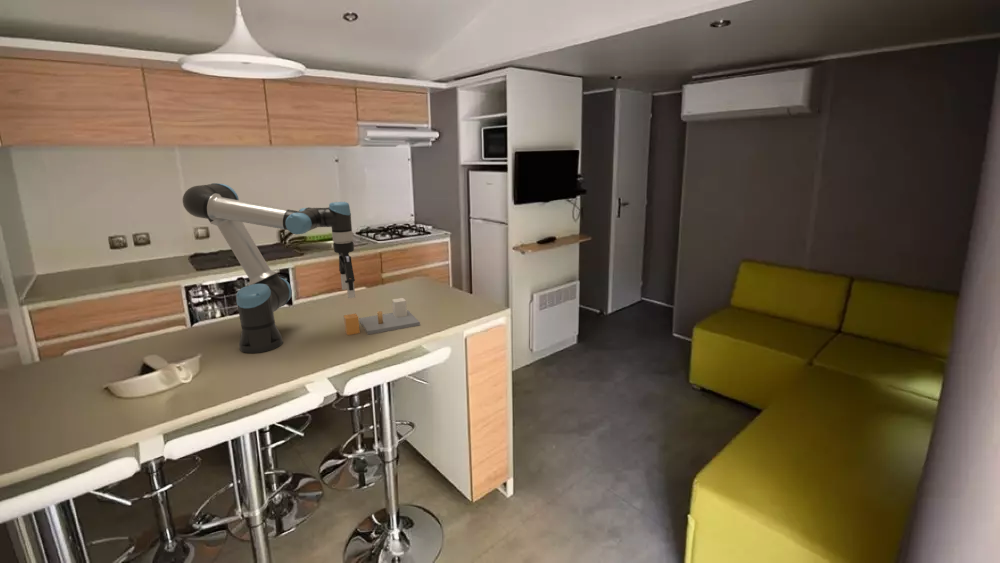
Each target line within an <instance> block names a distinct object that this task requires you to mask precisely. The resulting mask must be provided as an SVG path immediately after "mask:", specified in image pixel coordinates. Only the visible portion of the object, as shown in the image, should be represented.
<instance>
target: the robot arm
mask: <svg viewBox="0 0 1000 563" xmlns="http://www.w3.org/2000/svg"><path fill="white" fill-rule="evenodd" d="M182 204H183V208H184V210H185V211H186V212H187V213H188V214H190V215H191V216H194V217H196V218H201V219H207V220H208V221H209V223H210V224H211V225H213V226H216V227H217V228H218V230H219V231H220V233H221V235H222V236H223V238H224V240H225V241H226V244H228V246H229V248H230V249H231V251H232V253H233V254H234V256H235V258H236V260H238V263H239V264H240V266H241V268H242V269H243V271H244V272H245V275H246V276H247V277H248V279H249V283H248V285H246V286H243V287H241V288H239V290H237V292H236V296H235V297H236V305H237V310H238V315H239V320H240V322H239V323H240V326H241V332H240V333H241V334H240V337H239V344H238V346H239V350H240V352H242V353H245V354H246V353H247V354H258V353H265V352H268V351H272V350H274V349H277V348H279V347H280V346H281V345H283V344H284V341H283V336H282V333H281V332H280V330H279V329H278V327H277V325H276V322H275V321H276V320H275V314H274V312H276V311H277V310H279V309H281V308H282V307H285V305H286V304H287V303H289V300H290V299H291V297H292V295H293V294H292V292H293V290H292V287H291V286H292V285H291V283H289V282H288V280H286V278H282V277H280V276H279V274H278V272H277V271H275V270H272V269H271V268H270V266H269V264H268V263H267V261H266V260H265V258H264V256H263V255H262V253H261V251H260V250H259V248H258V246H257V244H256V242H255V241H254V239H253V238H252V236H251V234H250V233H249V230H248V229H247V227H246V226H245V224H244V223H246V224H252V225H257V226H262V227H267V228H268V227H269V228H274V229H279V230H284V231H285V230H286V231H289V233H292V234H293V235H302V234H306V233H308V232H309V231H312V230H315V229H317V228H331V236H332V241H333V251H334V253H336V254H338V267H339V268H338V269H339V270H338V271H339V274H340V280H341V281H340V282H341V290H342V291H344V290H345V291H347V299H354V298H356V290H355V281H356V279H355V274H354V269H353V264H352V256H350V255H349V254H350V253H352V252H354V251H355V245H354V242H353V240H354V238H353V236H354V234H355V233H354V232H353V228H352V227H353V226H352V213H351V209H350V204H349V202H346V201H334V202H333V201H332V202H330V203H329V204H328V205H329V206H328V207H304V208H303V207H302V208H299V210H293V209H288V208H284V207H278V206H271V205H267V204H263V203H262V204H260V203H255V202H250V201H245V200H240V199H239V195H238V193H237V192H236V191H235V189H233V188H232V187H231V186H229V185H227V184H224V183H218V182H217V183H215V182H214V183H210V184H202V185H193V186H192V187H190V188H188V189H186V191H185V192H184V193H183V196H182Z"/></svg>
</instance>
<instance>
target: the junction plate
mask: <svg viewBox="0 0 1000 563" xmlns="http://www.w3.org/2000/svg"><path fill="white" fill-rule="evenodd" d="M391 302H392V304H391V305H392V306H391V307H392V312H389V313H383V311H381V310H379V311H377V315H376V314H375V315H370V316H363V317H358V320H359V324H361V326H362V329H363V330H364V331H365V333H366V334H367V335H373V334H379V333H385V332H390V331H394V330H395V331H396V330H402V329H408V328H412V327H414V328H415V327H418V326H421V324H420V323H421V322H420V321H419V320H418V319H417V318H416V317H415V315H414V314H412V312H410V310H408V308H407V300H406V299H405V298H404V297H400V298H393V299H391Z"/></svg>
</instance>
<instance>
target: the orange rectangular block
mask: <svg viewBox="0 0 1000 563" xmlns="http://www.w3.org/2000/svg"><path fill="white" fill-rule="evenodd" d="M343 322H344V330H345V333H346V335H347V336H351V335H357V334H360V333H361V331H360V322H359V316H358V314H357V313H349V314H344V315H343Z"/></svg>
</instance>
